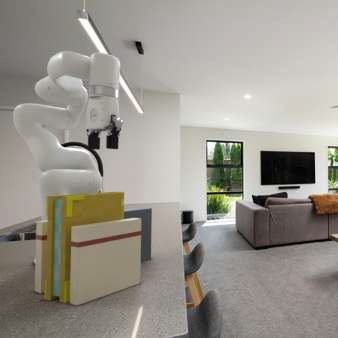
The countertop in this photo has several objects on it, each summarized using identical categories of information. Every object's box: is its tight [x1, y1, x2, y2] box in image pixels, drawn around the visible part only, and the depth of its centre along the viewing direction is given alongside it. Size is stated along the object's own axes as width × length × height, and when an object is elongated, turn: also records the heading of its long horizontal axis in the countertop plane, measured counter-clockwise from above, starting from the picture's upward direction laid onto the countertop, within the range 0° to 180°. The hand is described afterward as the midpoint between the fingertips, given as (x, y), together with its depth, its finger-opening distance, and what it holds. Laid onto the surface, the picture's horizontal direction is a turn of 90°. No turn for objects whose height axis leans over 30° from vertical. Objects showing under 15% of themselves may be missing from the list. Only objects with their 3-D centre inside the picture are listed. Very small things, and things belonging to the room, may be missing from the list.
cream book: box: [34, 220, 48, 294], centre depth 80 cm, size 3×15×18 cm, turn 156°
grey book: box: [124, 207, 153, 262], centre depth 97 cm, size 3×14×18 cm, turn 156°
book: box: [43, 191, 125, 303], centre depth 77 cm, size 17×7×25 cm, turn 166°
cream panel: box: [69, 218, 142, 306], centre depth 74 cm, size 3×15×18 cm, turn 156°
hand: (102, 149), depth 90 cm, fingers open, 9 cm apart
